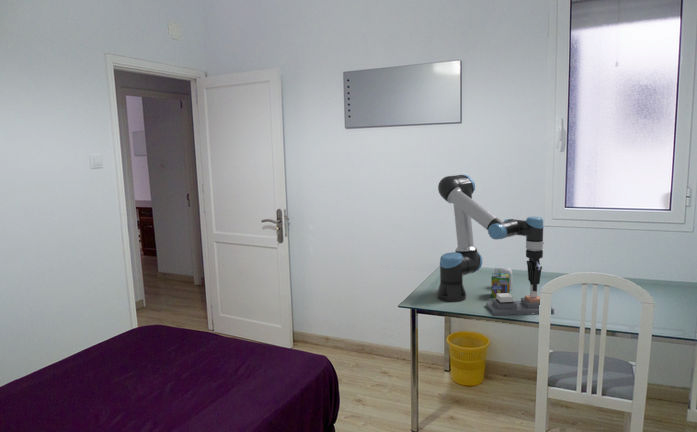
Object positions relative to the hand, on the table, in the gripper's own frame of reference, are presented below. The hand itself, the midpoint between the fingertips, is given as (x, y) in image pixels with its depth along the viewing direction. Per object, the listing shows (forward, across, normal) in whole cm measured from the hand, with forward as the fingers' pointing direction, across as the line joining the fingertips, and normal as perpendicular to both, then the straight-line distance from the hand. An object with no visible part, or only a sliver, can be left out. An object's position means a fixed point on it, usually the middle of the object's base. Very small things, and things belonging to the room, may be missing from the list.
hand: (533, 296), depth 225 cm
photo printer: (+6, +35, +3) cm, 36 cm away
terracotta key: (+3, 0, 0) cm, 3 cm away
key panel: (+6, 0, +7) cm, 9 cm away
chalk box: (+6, +21, +9) cm, 24 cm away
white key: (+1, 0, +14) cm, 14 cm away
